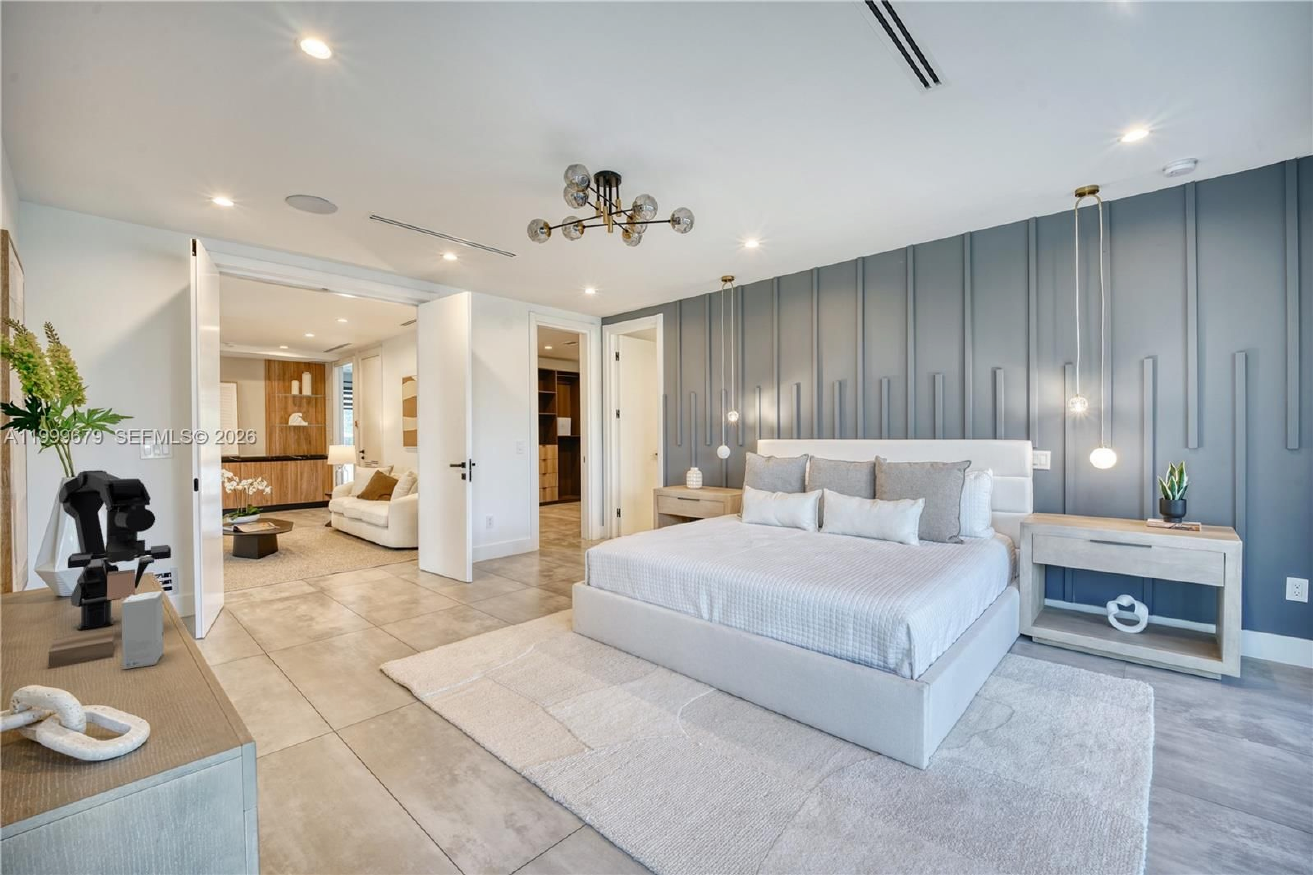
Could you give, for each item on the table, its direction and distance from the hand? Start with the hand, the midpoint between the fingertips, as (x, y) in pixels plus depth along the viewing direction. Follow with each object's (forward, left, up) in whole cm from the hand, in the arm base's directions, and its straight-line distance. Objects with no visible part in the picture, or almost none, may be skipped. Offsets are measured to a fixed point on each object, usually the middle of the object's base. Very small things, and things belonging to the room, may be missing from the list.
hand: (121, 590), depth 142 cm
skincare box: (+26, +4, -12) cm, 29 cm away
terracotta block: (0, 0, -2) cm, 2 cm away
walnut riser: (+13, -6, -12) cm, 19 cm away
